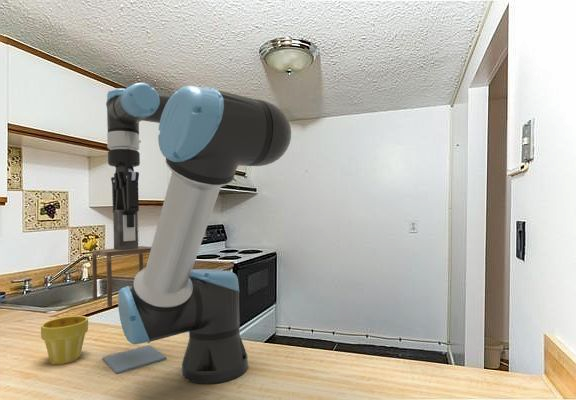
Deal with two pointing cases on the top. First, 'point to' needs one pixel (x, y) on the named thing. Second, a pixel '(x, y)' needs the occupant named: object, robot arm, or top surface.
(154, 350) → the mat
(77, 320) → the plant pot
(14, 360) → the top surface
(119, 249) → the brown legged piece
